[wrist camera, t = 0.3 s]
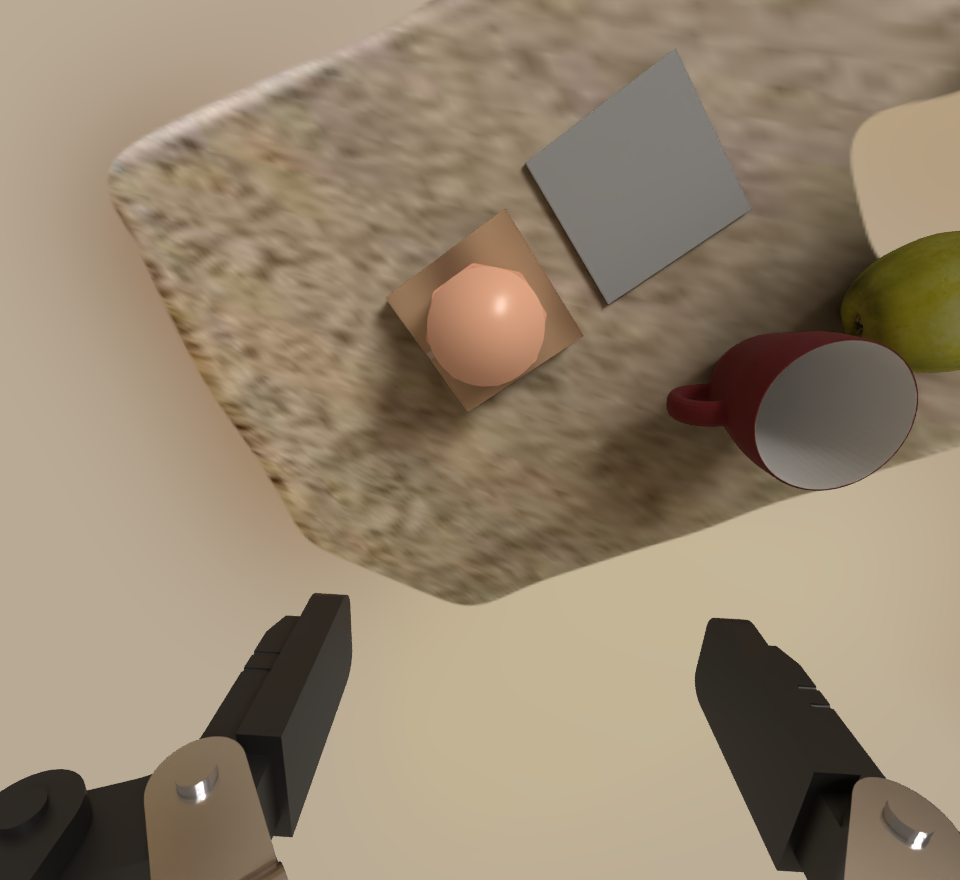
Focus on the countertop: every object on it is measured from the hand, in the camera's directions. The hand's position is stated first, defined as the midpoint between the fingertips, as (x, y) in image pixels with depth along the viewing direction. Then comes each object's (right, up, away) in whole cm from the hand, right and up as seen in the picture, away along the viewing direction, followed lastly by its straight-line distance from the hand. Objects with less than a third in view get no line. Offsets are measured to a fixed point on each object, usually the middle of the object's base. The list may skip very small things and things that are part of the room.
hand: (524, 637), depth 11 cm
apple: (+25, +14, +22) cm, 36 cm away
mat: (+9, +20, +20) cm, 29 cm away
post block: (-1, +13, +22) cm, 26 cm away
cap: (-1, +12, +20) cm, 24 cm away
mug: (+16, +9, +24) cm, 30 cm away
